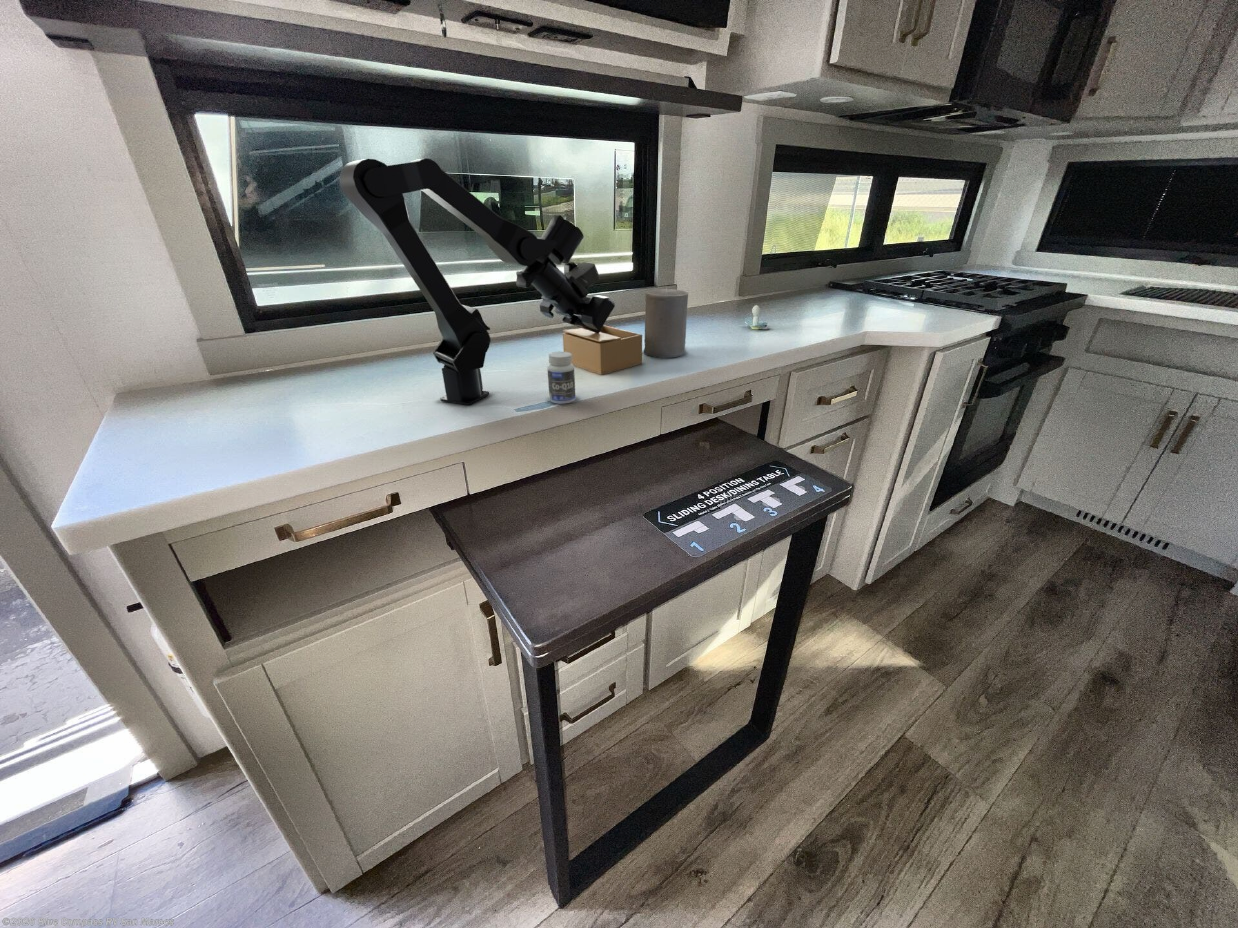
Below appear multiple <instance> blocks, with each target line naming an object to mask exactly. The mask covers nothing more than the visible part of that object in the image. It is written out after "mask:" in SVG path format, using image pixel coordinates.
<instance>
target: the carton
mask: <svg viewBox="0 0 1238 928" xmlns="http://www.w3.org/2000/svg"><path fill="white" fill-rule="evenodd" d="M600 332H601V333H605V334H609V335H612V336H616V337H620V338H621V339H620V340H612V341H605V342H598V341H595V340H591V339H588V338H584V337H581V336H577V335H573V334H570V333H566V332H563V333H562V347H563V352H569V353H571V355H572V362H571V363H572V364H573V365H574V367H577V368H580V369H583V370H585V371H589V372H591V373H594V374H597V375H600V376H602V375H606V374H610V373H613V372H616V371H621V370H624V369H628V368H631V367H634V366H639V365H642V364H643V334H641V333H637V332H633V331H629V330H625V329H621V328H617V327H613V326H608V325H605V324H604V325H603V326H602V328H601V331H600Z"/></svg>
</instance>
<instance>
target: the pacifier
mask: <svg viewBox="0 0 1238 928" xmlns="http://www.w3.org/2000/svg"><path fill="white" fill-rule="evenodd" d="M751 311H752V313H751V314H752V315H753V317H750V316H747V317H746V318H744V323H745V324H746V325H747V326H750V329H752V330H769V329H771V326H770V325H769V324H768V322H765V321H762V320H760V317H761V315H762V311H761V308H760V306H759V305H757V304H756V305H754V306H753V307H752V309H751Z"/></svg>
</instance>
